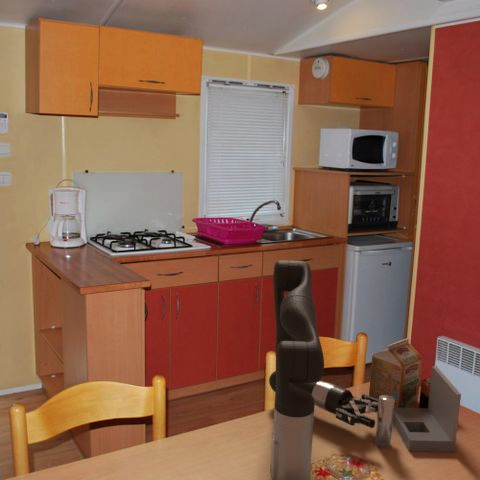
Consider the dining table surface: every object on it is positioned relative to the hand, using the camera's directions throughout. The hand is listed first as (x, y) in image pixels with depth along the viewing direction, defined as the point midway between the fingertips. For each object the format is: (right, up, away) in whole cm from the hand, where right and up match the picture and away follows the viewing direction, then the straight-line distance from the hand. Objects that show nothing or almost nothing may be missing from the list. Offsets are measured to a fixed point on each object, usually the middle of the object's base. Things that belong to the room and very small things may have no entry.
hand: (382, 418), depth 156 cm
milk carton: (+10, -3, +27) cm, 29 cm away
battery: (+20, -4, +21) cm, 29 cm away
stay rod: (0, -7, +1) cm, 7 cm away
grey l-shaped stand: (+12, -6, +7) cm, 15 cm away
